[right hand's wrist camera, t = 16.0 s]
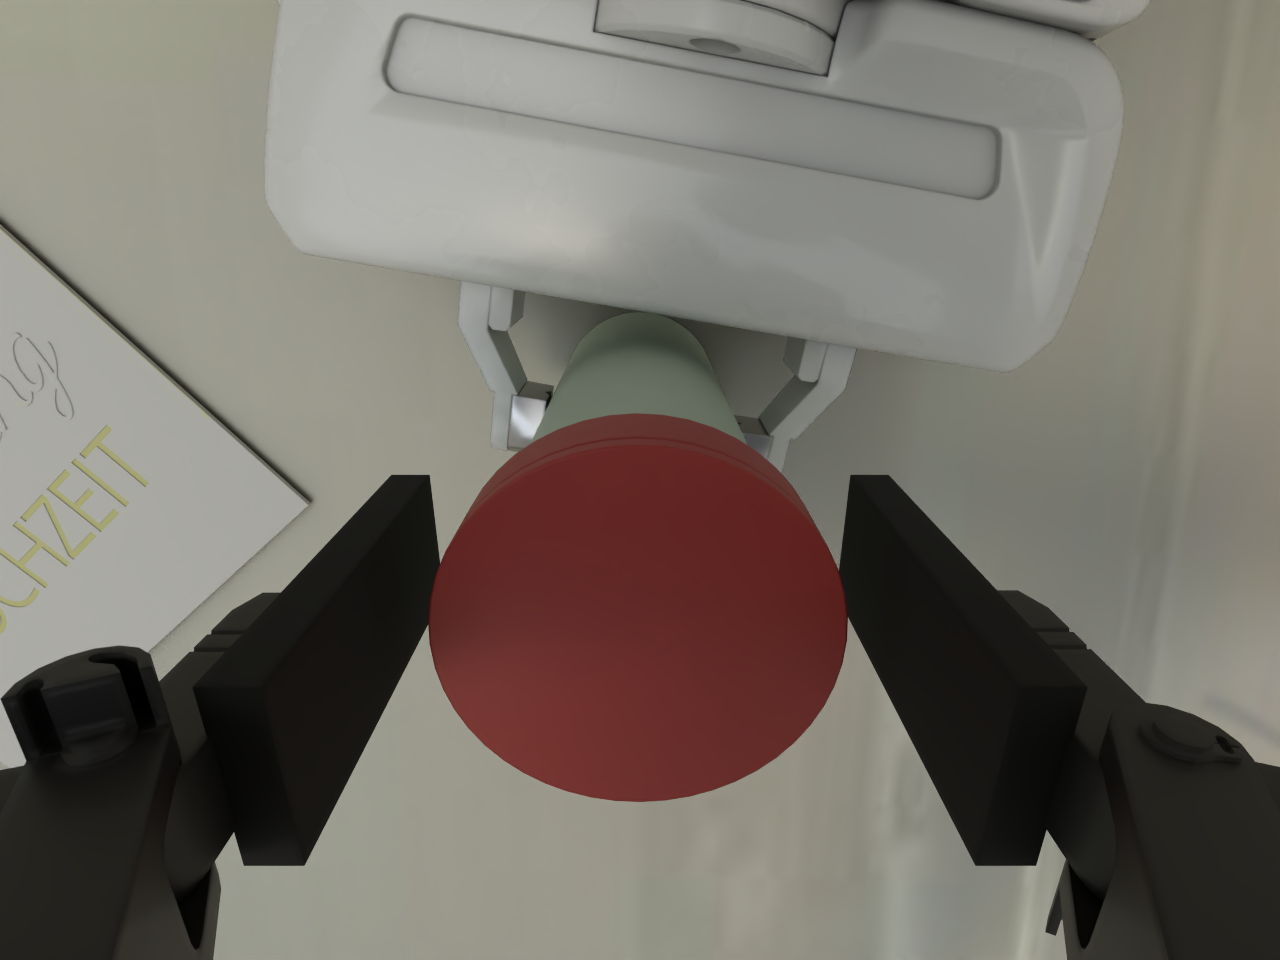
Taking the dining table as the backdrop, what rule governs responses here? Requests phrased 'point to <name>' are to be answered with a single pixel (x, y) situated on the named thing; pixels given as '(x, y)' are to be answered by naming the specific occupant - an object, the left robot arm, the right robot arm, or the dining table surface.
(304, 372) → the dining table surface
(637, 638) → the lid
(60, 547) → the invitation card
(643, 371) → the jar
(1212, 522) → the dining table surface
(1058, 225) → the left robot arm
